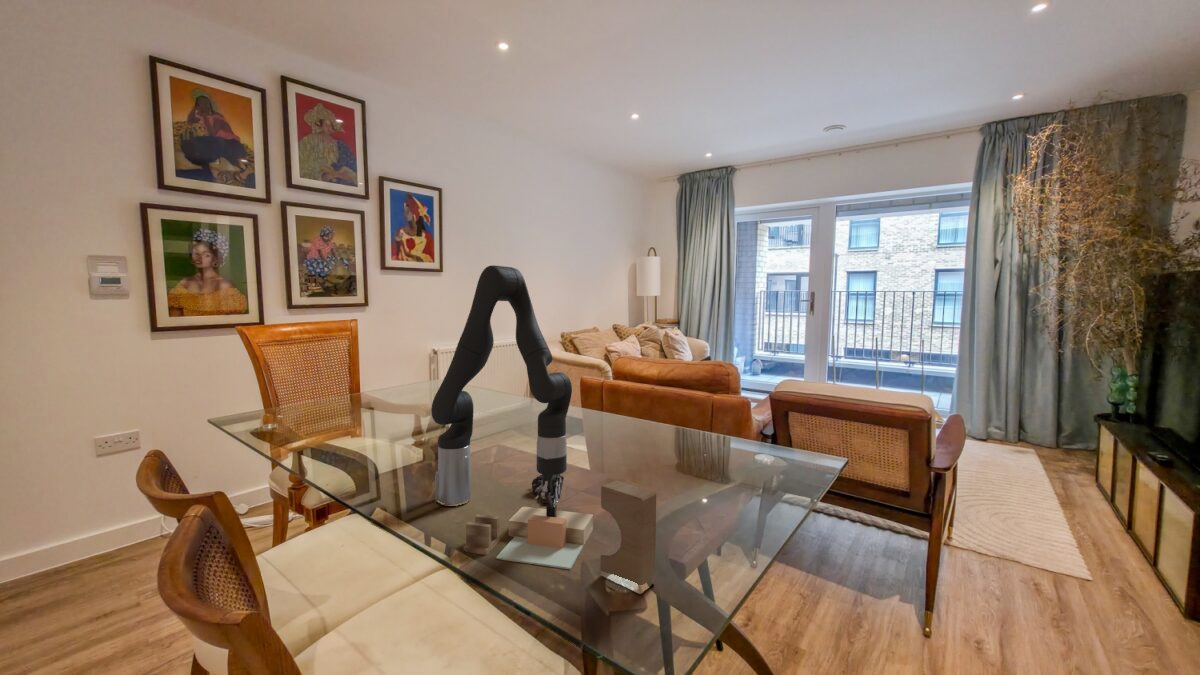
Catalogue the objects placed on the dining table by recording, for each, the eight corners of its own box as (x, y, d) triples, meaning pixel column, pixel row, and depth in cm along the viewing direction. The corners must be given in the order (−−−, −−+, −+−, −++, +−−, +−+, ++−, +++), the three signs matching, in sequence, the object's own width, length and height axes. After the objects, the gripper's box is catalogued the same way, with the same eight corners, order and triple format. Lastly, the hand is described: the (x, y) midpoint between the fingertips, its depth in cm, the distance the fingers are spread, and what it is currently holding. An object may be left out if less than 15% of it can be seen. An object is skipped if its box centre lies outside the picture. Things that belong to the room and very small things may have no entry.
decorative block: (599, 576, 101) (599, 485, 100) (615, 565, 105) (616, 479, 104) (640, 597, 93) (641, 499, 92) (656, 585, 98) (657, 491, 97)
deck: (508, 535, 118) (508, 520, 118) (522, 520, 127) (522, 506, 127) (583, 545, 114) (583, 529, 114) (592, 529, 122) (593, 514, 122)
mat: (496, 558, 107) (496, 557, 107) (515, 537, 117) (515, 536, 117) (570, 569, 103) (570, 567, 103) (583, 546, 113) (583, 545, 113)
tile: (532, 537, 117) (527, 543, 114) (532, 514, 116) (527, 519, 113) (566, 542, 114) (562, 548, 112) (566, 518, 114) (562, 524, 111)
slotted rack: (463, 551, 110) (463, 526, 110) (479, 536, 118) (479, 512, 118) (486, 554, 109) (486, 529, 109) (501, 539, 117) (501, 514, 116)
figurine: (560, 502, 139) (553, 480, 154) (551, 484, 138) (544, 464, 152) (540, 514, 138) (534, 491, 152) (530, 496, 137) (525, 475, 151)
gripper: (546, 444, 124) (546, 507, 124) (527, 459, 111) (527, 529, 112) (573, 446, 122) (573, 510, 123) (557, 461, 109) (556, 533, 110)
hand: (551, 519), depth 117 cm, fingers closed
